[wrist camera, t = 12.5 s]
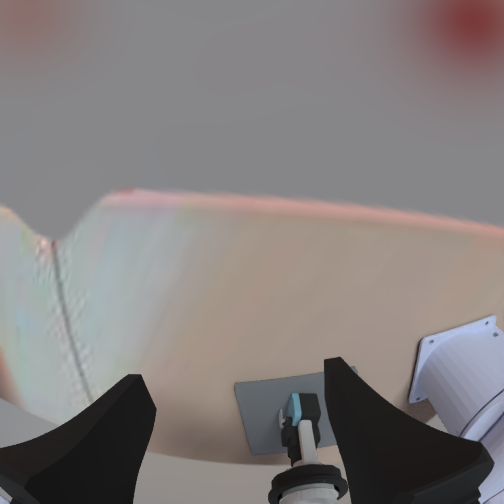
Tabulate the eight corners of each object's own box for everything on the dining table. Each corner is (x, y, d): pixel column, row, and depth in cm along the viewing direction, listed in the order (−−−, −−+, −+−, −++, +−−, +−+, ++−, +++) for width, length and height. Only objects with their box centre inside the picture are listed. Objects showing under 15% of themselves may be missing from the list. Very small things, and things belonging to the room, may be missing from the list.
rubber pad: (354, 366, 22) (357, 371, 22) (348, 436, 25) (350, 441, 24) (235, 382, 23) (234, 389, 22) (252, 449, 26) (252, 455, 25)
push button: (315, 437, 24) (331, 523, 14) (260, 436, 24) (261, 526, 14) (333, 388, 22) (362, 487, 13) (270, 387, 22) (275, 493, 12)
